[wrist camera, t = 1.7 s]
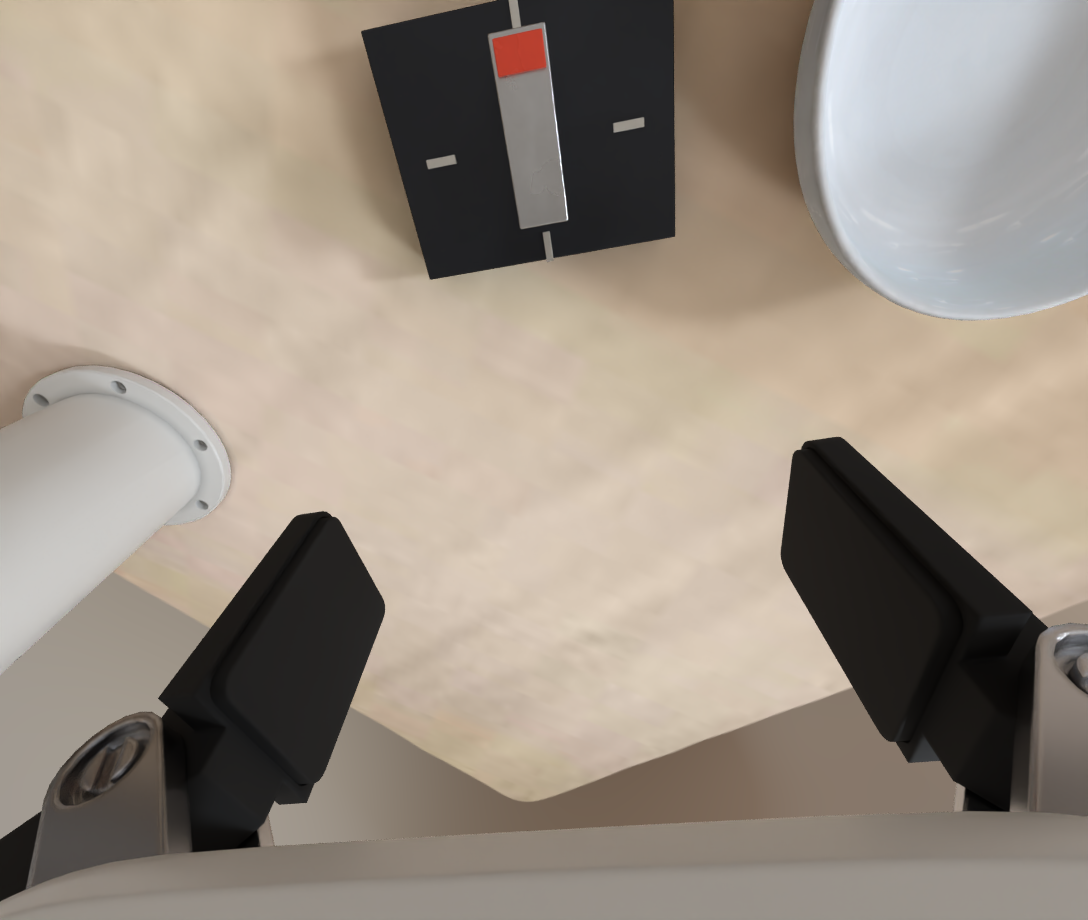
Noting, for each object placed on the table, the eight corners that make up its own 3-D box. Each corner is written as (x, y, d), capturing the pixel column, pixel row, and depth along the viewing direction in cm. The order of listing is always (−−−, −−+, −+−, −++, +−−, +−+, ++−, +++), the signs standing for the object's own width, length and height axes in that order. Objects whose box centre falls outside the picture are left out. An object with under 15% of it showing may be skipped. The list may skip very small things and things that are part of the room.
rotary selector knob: (563, 212, 22) (569, 221, 18) (524, 219, 23) (519, 230, 18) (544, 55, 19) (545, 18, 15) (498, 64, 20) (485, 31, 15)
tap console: (439, 273, 26) (429, 282, 24) (377, 42, 21) (358, 26, 19) (664, 233, 25) (676, 239, 23) (659, -20, 20) (674, -46, 18)
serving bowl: (838, 360, 29) (913, 406, 23) (664, 25, 21) (712, -35, 15) (1256, 94, 22) (1511, 64, 16) (1251, -580, 14) (1780, -1143, 8)
